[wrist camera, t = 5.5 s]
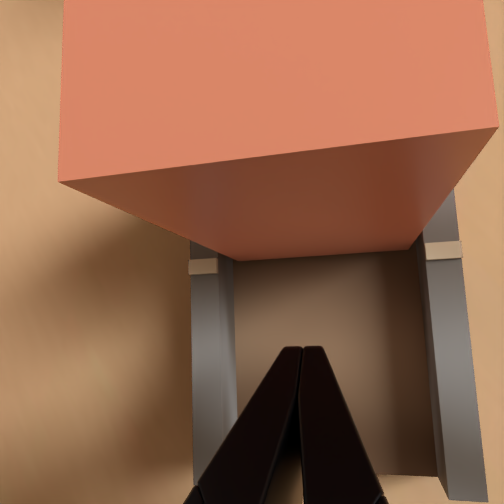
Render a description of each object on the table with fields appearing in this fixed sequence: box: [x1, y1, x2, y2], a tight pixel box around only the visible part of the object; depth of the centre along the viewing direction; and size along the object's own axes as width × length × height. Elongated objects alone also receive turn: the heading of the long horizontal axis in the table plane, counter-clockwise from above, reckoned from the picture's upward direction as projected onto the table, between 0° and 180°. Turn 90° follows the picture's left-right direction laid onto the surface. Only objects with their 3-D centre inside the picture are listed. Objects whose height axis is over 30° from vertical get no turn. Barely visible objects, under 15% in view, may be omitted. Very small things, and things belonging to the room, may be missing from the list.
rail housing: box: [188, 188, 488, 502], centre depth 15 cm, size 14×9×4 cm, turn 2°
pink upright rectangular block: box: [58, 0, 499, 261], centre depth 11 cm, size 4×6×10 cm, turn 92°
